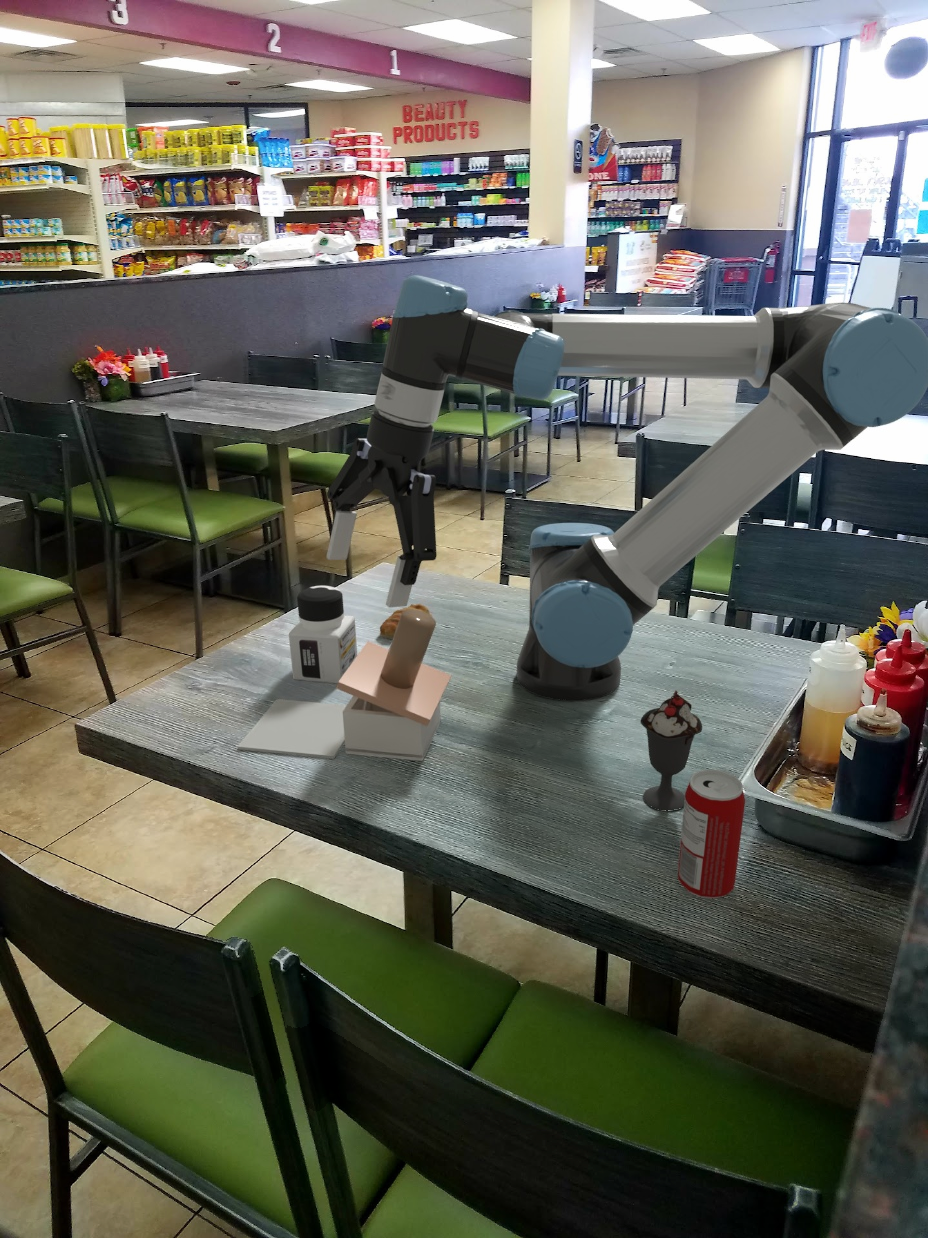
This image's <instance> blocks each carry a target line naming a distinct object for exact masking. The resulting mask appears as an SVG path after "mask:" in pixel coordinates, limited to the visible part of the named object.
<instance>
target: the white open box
mask: <svg viewBox="0 0 928 1238" xmlns="http://www.w3.org/2000/svg"><path fill="white" fill-rule="evenodd" d="M346 705H347V706H346V707H345V709H344V710H343V724H344V737H345V743H344V748H345V754H349V755H359V756H368V757H378V758H389V759H398V760H399V759H400V760H407V761H418V762H423V761H424V759H425V756H426V755H427V752H428V750H429V749H430V746H431V744H432V742H433V740H434V737H435V735H436V733H437V731H438V729H439V726H440V724H441V722H442V720H441V719H442V717H441V701H440V702H439V704H438V706H437V708H436V710H435V712H434V714H433V716H432V718H431V720H430V722H429V725H428V726H425V725H423V724H421V723H418V722H416V721H413V720H411V719H409V718H406V717H404V716H401V715H399V714H397V713H394V712H392V711H389V710H387V709H384V708H382V707H380V706H377V705H375V704H372V703H370V702H368V701H365V700H363V699H360V698H358V697H356V696H353V695H352V696H351V699H350V700H349V701H348V703H347V704H346Z"/></svg>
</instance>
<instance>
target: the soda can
mask: <svg viewBox="0 0 928 1238" xmlns="http://www.w3.org/2000/svg"><path fill="white" fill-rule="evenodd" d="M684 795H685V800H684V807H683V812H682V813H683V814H682V823H681V833H680V843H679V854H678V866H677V880H678V881H679V883H680V885H682V887H684V889H686V891H688V893H689V894H691V895H694V896H695V895H696V897H698V898H700V897H701V898H702V899H710V900H712V898H713V899H718V898H722V896H723V897H725V896H727V895H728V894H730V893H731V892H732V891H733V890H734V889H735V886H736V885H735V884H736V878H737V869H738V861H739V855H740V854H739V853H740V846H741V845H740V844H741V836H742V829H743V821H744V814H745V813H744V812H745V804H746V798H745V794H744V785H743V782H742V781H741V780H739V778H738V777H737V776H736V775H733V774H731V773H729V772H726V771H723V770H719V769H703V770H699V771H697V772H694V773H693V774H692V775H691V777H690V780H689V783H688V785H687V787H686V789H685V793H684Z"/></svg>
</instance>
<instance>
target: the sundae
mask: <svg viewBox="0 0 928 1238" xmlns="http://www.w3.org/2000/svg"><path fill="white" fill-rule="evenodd" d="M678 693H679V692H678V691H677V690H674V693H673V695H671V697H670V698H667V699H665V700H664V701H662V703H661V704H660V706H659V707H658V708H652V709H650V710H648V711H646V712H645V713H644V714H643V715H642V717H641V718H640V721H639V722H640V724H641V725H642V726H643V727H644V728H645V729H646V736H647V745H648V747H647V749H648V757H649V763H650V764H651V766H652V768H653V769H654V770H655V771H657V773H659V774H661V777H660V784H659V785H656V786H652V787H649V788H648V789H646V790H645V791H644V792H643V794H642V799H643V801H644V803H645V804H647V806H649V807H650V806H652V807H651V808H652V809H654V808H656V809H655V810H657V809H659V810H658V811H661V810H666V811H665V812H669V811H668V810H674V809H679V808H681V809H683V808H684V807H683V806H684V800H685V793H683V792H682V791H681V790H679V789H677V788H675V787H673V786H672V782H673V781H672V780H673V776H675V775H677V774H679V773H680V772H682V771H683V770H684V769H685V768H686V765H687V762H688V760H689V757H690V752H691V748H692V744H693V740H694V738H695V735H698V734H700V733H701V732H702V731H703V723H702V721H701V719H700V718H699V717H698V716H697V715H695V713H692V703H690V702H688V700H686V699H685V698H684V697H683V696H681V695H679V694H678ZM682 807H683V808H682ZM679 810H680V809H679Z"/></svg>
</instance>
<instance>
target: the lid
mask: <svg viewBox="0 0 928 1238" xmlns="http://www.w3.org/2000/svg"><path fill="white" fill-rule="evenodd" d="M436 625H437V622H436V620H435V618H434V617H433V616H432V617H431V616H430V615H429V614H427V613H425V612H423V611H420V610H416V609H406V610H404V611H403V612H402V614H401V617H400V619H399V622H398V625H397V628H396V631H395V634H394V637H393V640H392V639H391V643H390V646H389V649H388V648H386V647H383V646H381V645H379V644H376V643H373V642H371V641H369V640H368V641H367V642H366V643H365V644H364V646H363V647H362V648H361V650H360V651H359V652H358V653H357V657H356V658H355V660H354V661H353V662H352V664H351V665H350V666H349V668H348V669H347V671H346V672H345V673H344V675H343V676H342V677H341V679H340V680H339V682H338V683H337V685H336V689H337V690H339V691H341V692H344V693H346V694H349V695H351V696H352V697H353V696H356V697H358V698H360V699H363V700H365V701H368V702H370V703H372V704H375V705H377V706H380V707H382V708H384V709H387V710H389V711H392V712H394V713H397V714H399V715H401V716H404V717H406V718H409V719H411V720H413V721H416V722H418V723H421V724H423V725H425V726H428V725H429V722H430V720H431V718H432V716H433V714H434V712H435V710H436V708H437V706H438V704H439V702H440V703H441V699H442V697H443V696H444V693H445V691H446V689H447V687H448V685H449V682H450V680H451V677H452V674H449V673H446V672H444V671H441V670H439V669H437V668H435V667H432V666H430V665H427V664H424V663H423V660H424V658H425V655H426V653H427V650H428V647H429V645H430V642H431V639H432V636H433V633H434V630H435V628H436Z"/></svg>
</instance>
